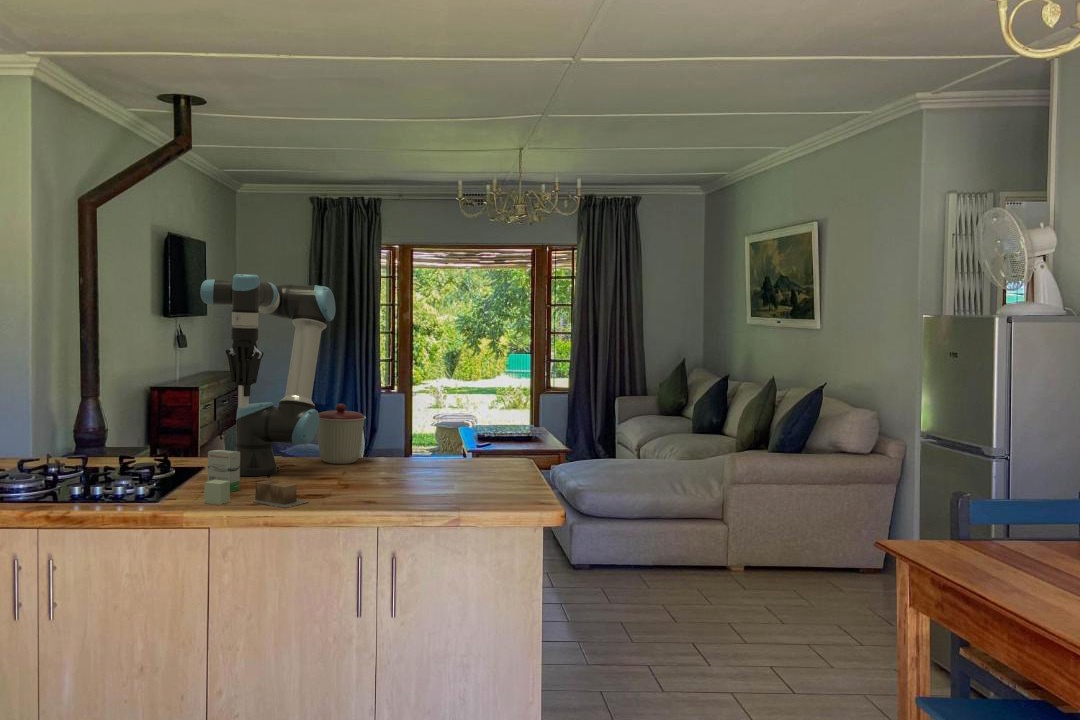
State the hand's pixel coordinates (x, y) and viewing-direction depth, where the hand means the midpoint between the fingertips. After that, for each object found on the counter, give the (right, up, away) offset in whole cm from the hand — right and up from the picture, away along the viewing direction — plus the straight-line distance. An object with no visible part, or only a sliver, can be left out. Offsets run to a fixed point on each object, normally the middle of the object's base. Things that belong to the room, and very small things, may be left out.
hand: (243, 407), depth 302 cm
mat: (+13, -27, -6) cm, 31 cm away
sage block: (-5, -27, -9) cm, 29 cm away
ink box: (-9, -26, +9) cm, 29 cm away
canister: (+15, -23, +67) cm, 72 cm away
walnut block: (+6, -24, -3) cm, 25 cm away
